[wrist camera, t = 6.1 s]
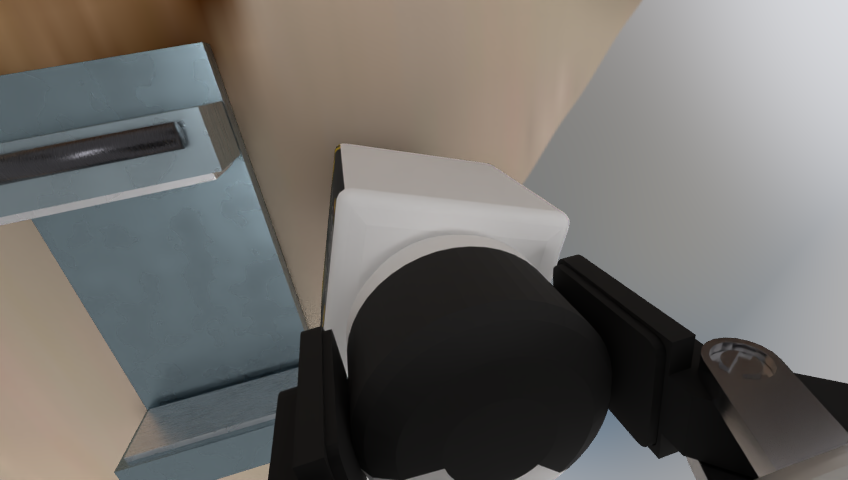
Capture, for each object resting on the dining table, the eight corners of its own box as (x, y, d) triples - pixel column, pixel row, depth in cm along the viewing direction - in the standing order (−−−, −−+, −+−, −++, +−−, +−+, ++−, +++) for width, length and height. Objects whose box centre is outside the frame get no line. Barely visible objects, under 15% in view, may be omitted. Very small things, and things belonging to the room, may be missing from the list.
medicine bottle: (335, 140, 17) (342, 284, 6) (493, 162, 19) (712, 303, 8) (321, 289, 19) (309, 573, 9) (461, 295, 21) (592, 537, 11)
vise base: (-27, 83, 21) (-162, 86, 15) (209, 44, 23) (169, 33, 17) (172, 423, 31) (136, 504, 25) (326, 379, 33) (326, 445, 27)
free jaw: (-19, 145, 21) (-135, 169, 16) (221, 101, 22) (189, 108, 17) (19, 207, 22) (-76, 247, 17) (242, 160, 24) (219, 184, 19)
